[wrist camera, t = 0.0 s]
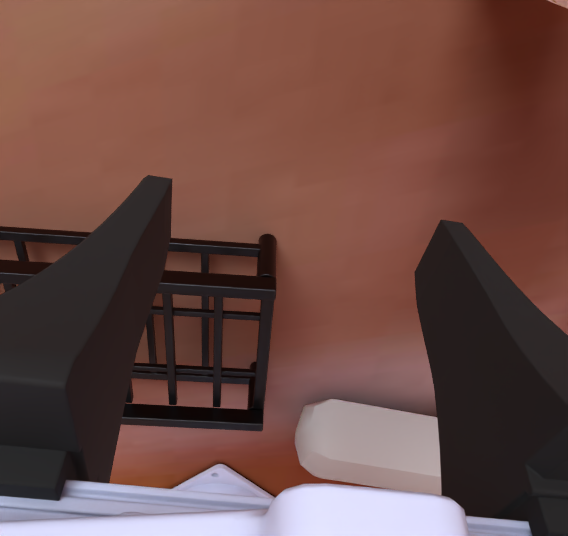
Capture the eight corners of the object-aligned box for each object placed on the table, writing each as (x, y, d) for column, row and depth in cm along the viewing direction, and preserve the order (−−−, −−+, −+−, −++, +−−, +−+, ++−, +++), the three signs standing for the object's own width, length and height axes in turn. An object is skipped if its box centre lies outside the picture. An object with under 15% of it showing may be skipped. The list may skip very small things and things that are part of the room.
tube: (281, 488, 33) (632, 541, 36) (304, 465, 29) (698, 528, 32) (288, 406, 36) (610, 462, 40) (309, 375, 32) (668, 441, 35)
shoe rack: (264, 371, 32) (262, 432, 29) (-107, 351, 31) (-158, 412, 28) (277, 234, 27) (276, 288, 23) (-178, 202, 25) (-254, 254, 22)
